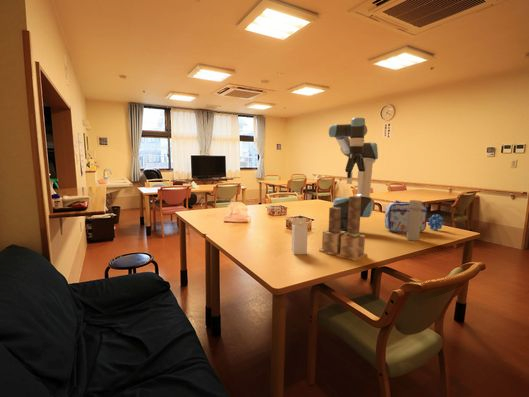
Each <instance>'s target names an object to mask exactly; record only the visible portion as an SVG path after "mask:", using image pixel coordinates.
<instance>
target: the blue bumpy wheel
mask: <svg viewBox="0 0 529 397" xmlns="http://www.w3.org/2000/svg"><path fill="white" fill-rule="evenodd" d="M444 224H445V222H444V217H442V216H441V215H440V214H433V215H432V216H431V217H429V218H428V222H427V226H429V229H430V230H434V231H438V230H441V229H442V227H443V226H444Z"/></svg>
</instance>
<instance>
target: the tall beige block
mask: <svg viewBox="0 0 529 397" xmlns="http://www.w3.org/2000/svg"><path fill="white" fill-rule="evenodd" d="M409 202H410V203H409V208H410V209H409V208H407V212H408V209H409V215H408V214H407V215H406V217H407V221H408V227H407V230H406V231H407V233H406V239H407V240H408V241H411V242H417V241H419V240H420V233H421V232H420V223H421V212H422V210H421V209H422V204H423V203H422V202H423V201H422V200H416V199H410V200H409ZM405 222H406V220H405ZM404 227H405V225H404ZM406 231H405V230H404V232H406Z"/></svg>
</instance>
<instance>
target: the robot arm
mask: <svg viewBox="0 0 529 397" xmlns="http://www.w3.org/2000/svg"><path fill="white" fill-rule="evenodd" d="M350 121H351V122H350V123H344V124H330V125H329V128H328V135H329V136H328V137H329V138H335V139H336V141H337V144H338V145H339V146H340V152H341V153H342V154H343V155H344V156H346V157H347V158H348V159H347V163H346V166H345V173H347V174H346V184H347V185H352V184H353V170H354V167H355V164H356V166H357V170H358V171H357V188H356V195H355V196H358V197H361V212H360V218H370V217H371V215H372V212H373V210H374V201H373V200H372V197H371V195H370V194H371V184H372V176H373V175H372V173H373V166H374V165H373V164H375V163H376V160H378V159H379V151H378V150H379V149H378V144H377V143H376V142H371V141H370V142H365V136H366V135H367V133H368V126H366V119H365V118H364V117H353V118H351V120H350ZM349 197H350V196H344V197H343V196H341V197H335V198H334V199H333V201H332V202H333V204H332V207H338V208H341V220H340V231H345V232H346V233H347V229H348V209H349Z"/></svg>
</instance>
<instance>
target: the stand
mask: <svg viewBox="0 0 529 397" xmlns="http://www.w3.org/2000/svg"><path fill="white" fill-rule="evenodd" d="M365 241H366V235H364V234H360V235H359V237H356V238H355V237H350V236H347V232H345V231H340V233H337V234H335V233H330V232H329V229H327V230H324V231H322V244H321V248H320V249H318V251H319V252H320V253H323V254H324V253H325V254H328V255H331V256H334V257H339V258H344V259H347V260H350V261H354V262H358V261H360V260H362V259H364V258H366V256H368V253H367V252H365V243H366V242H365Z"/></svg>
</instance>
